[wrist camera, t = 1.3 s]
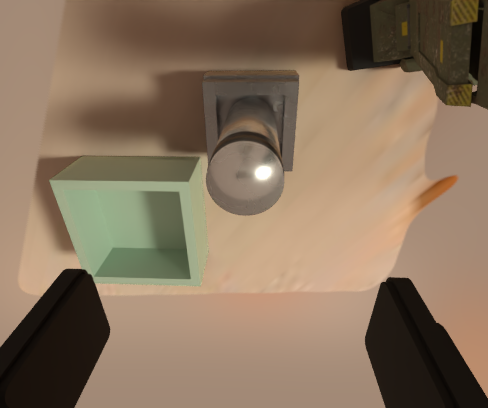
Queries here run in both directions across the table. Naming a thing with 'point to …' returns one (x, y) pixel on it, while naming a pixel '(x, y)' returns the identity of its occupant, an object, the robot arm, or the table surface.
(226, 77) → the socket block
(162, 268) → the bin
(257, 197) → the strut
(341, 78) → the table surface
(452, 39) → the mechanical leg
